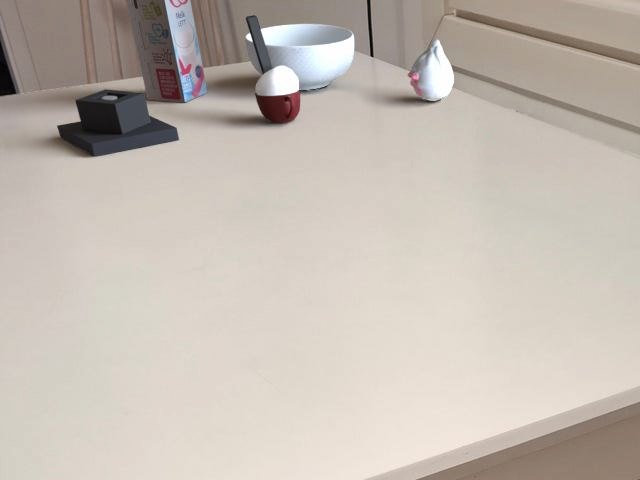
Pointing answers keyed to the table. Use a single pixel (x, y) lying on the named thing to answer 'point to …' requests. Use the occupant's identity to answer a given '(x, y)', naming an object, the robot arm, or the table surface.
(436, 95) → the figurine
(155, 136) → the base pad
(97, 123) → the black box
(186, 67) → the milk carton
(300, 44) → the cereal bowl
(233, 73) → the table surface
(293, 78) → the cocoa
